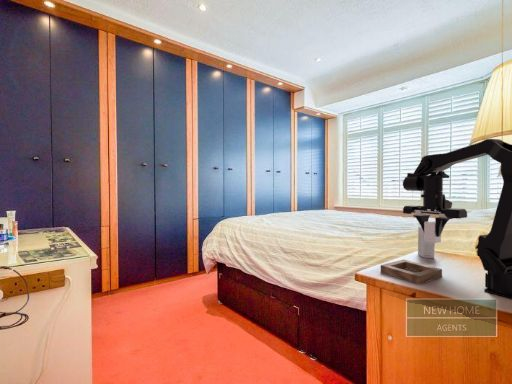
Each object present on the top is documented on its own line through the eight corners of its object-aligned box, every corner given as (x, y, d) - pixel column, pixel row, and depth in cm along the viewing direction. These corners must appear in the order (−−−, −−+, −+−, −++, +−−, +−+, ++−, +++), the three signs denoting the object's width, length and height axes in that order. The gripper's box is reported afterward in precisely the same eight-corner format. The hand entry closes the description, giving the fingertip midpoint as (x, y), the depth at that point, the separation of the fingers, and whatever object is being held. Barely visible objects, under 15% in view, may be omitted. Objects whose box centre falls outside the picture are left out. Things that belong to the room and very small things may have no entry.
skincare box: (434, 258, 109) (435, 228, 109) (423, 257, 110) (423, 228, 110) (428, 254, 115) (428, 226, 115) (417, 253, 116) (417, 226, 116)
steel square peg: (440, 242, 95) (441, 222, 94) (434, 243, 93) (435, 222, 93) (430, 240, 98) (430, 220, 98) (424, 241, 96) (424, 221, 96)
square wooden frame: (441, 276, 88) (442, 269, 88) (418, 284, 82) (418, 276, 82) (403, 266, 100) (403, 259, 100) (380, 272, 94) (380, 265, 94)
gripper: (476, 191, 90) (475, 238, 91) (419, 190, 107) (419, 229, 107) (458, 192, 85) (457, 241, 86) (402, 191, 102) (401, 232, 102)
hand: (432, 235), depth 95 cm, fingers closed on steel square peg, 4 cm apart
